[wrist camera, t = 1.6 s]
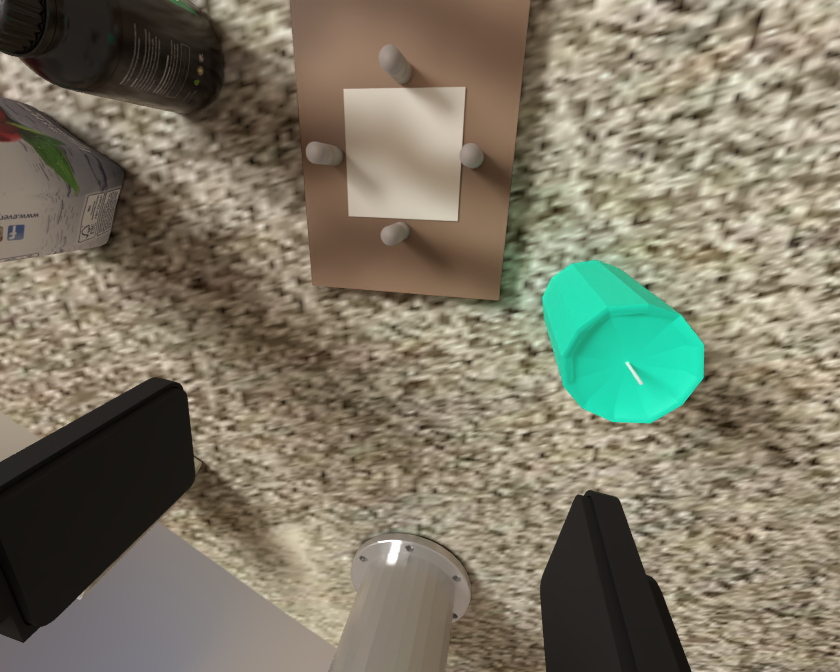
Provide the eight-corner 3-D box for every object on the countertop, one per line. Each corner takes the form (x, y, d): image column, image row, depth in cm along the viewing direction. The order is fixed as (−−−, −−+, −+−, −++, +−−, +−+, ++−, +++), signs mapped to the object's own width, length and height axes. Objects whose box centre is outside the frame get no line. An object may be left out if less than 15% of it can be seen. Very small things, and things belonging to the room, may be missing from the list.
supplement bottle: (198, -23, 25) (-46, -186, 14) (242, 95, 27) (61, 34, 16) (121, 22, 27) (-146, -90, 16) (168, 129, 29) (-40, 95, 18)
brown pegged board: (499, 295, 28) (497, 313, 24) (319, 281, 31) (292, 295, 27) (532, -19, 21) (537, -63, 18) (298, -4, 24) (259, -40, 20)
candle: (644, 324, 27) (740, 422, 16) (558, 353, 29) (590, 457, 18) (617, 244, 25) (702, 291, 14) (528, 280, 27) (544, 345, 16)
